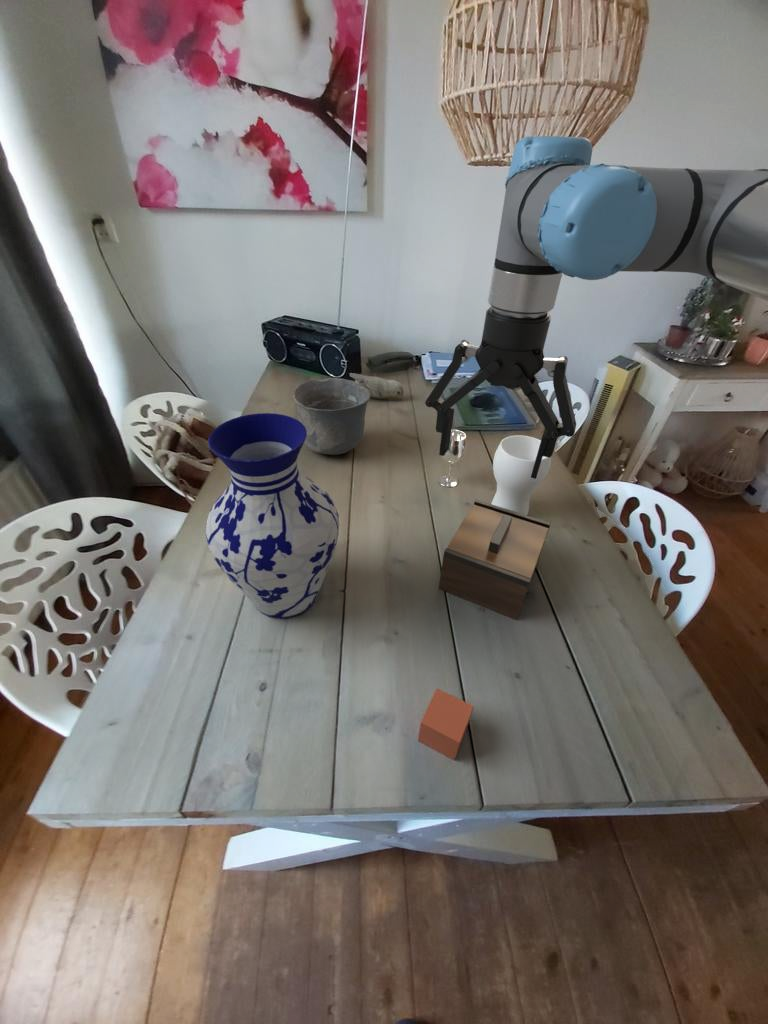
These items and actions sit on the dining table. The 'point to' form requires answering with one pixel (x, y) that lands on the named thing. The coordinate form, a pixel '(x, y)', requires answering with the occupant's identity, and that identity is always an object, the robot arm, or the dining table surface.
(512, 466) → the cup
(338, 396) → the bowl
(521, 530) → the sliding lid
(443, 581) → the box
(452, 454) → the wineglass
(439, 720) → the block
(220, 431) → the vase
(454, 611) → the dining table surface
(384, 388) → the decorative bird
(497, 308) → the robot arm
